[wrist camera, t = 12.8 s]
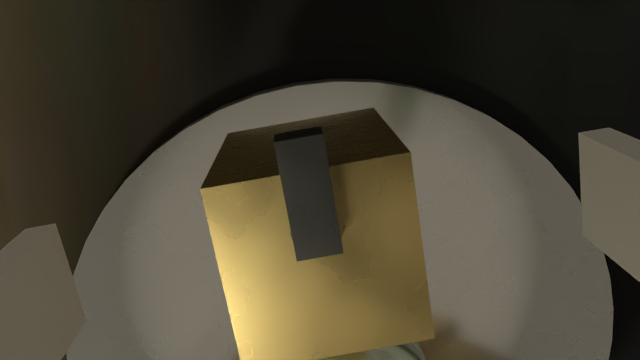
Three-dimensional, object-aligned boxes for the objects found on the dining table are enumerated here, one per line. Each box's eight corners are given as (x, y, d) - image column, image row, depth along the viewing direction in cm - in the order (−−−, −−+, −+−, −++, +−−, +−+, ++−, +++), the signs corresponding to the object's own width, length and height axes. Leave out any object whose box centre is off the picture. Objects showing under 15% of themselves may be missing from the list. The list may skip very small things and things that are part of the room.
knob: (381, 217, 22) (443, 357, 13) (260, 238, 22) (240, 392, 13) (360, 70, 21) (413, 117, 12) (229, 93, 21) (183, 158, 12)
